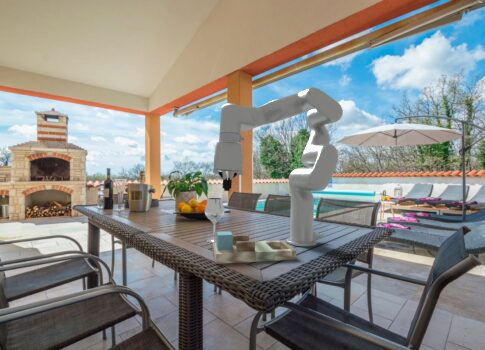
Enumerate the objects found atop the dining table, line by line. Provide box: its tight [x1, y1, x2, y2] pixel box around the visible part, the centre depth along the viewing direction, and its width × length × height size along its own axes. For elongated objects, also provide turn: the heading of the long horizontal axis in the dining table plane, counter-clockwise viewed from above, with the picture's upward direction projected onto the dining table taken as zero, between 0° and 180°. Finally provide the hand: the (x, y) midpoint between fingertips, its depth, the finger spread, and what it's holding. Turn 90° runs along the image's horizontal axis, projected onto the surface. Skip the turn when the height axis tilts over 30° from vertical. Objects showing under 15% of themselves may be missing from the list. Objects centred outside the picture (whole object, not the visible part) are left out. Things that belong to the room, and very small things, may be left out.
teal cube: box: [215, 230, 234, 250], centre depth 84 cm, size 5×5×5 cm
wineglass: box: [204, 197, 225, 244], centre depth 104 cm, size 8×8×18 cm
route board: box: [211, 234, 297, 265], centre depth 86 cm, size 27×13×6 cm, turn 102°
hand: (226, 190), depth 88 cm, fingers closed
